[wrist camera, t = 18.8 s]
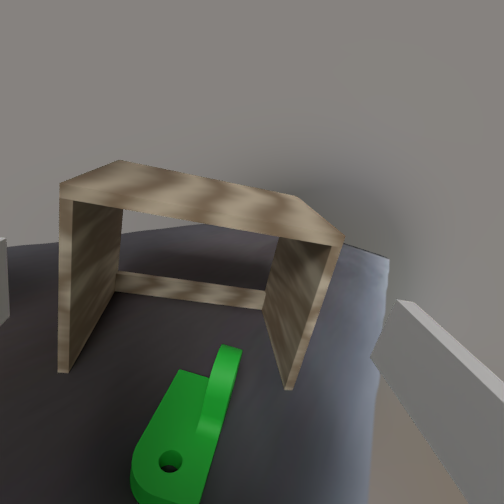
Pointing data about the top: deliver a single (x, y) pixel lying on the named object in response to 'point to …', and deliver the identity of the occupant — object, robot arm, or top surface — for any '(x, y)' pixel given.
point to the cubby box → (197, 210)
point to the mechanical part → (184, 434)
